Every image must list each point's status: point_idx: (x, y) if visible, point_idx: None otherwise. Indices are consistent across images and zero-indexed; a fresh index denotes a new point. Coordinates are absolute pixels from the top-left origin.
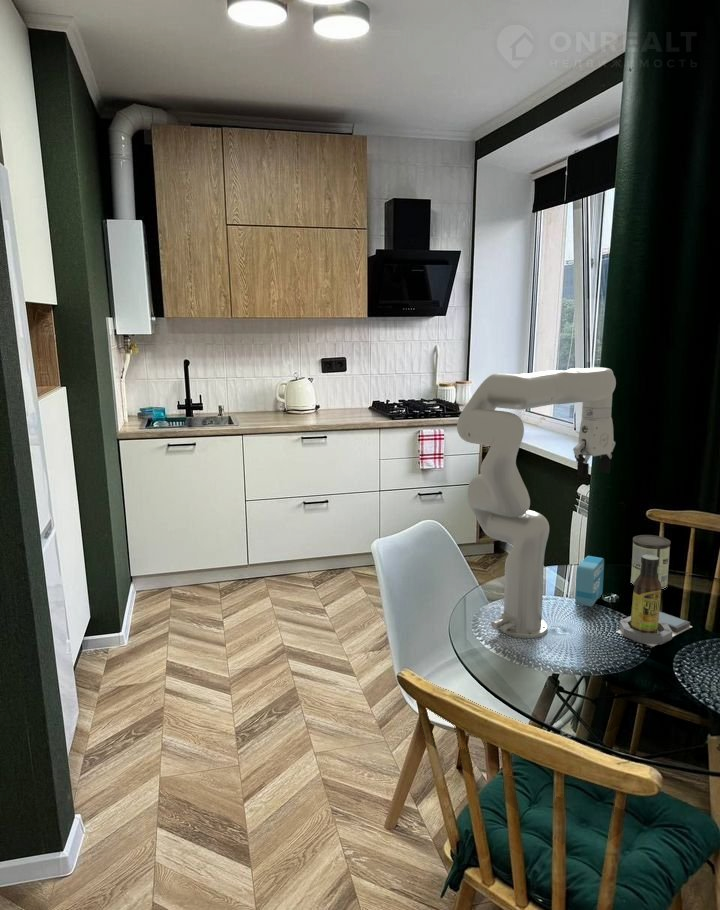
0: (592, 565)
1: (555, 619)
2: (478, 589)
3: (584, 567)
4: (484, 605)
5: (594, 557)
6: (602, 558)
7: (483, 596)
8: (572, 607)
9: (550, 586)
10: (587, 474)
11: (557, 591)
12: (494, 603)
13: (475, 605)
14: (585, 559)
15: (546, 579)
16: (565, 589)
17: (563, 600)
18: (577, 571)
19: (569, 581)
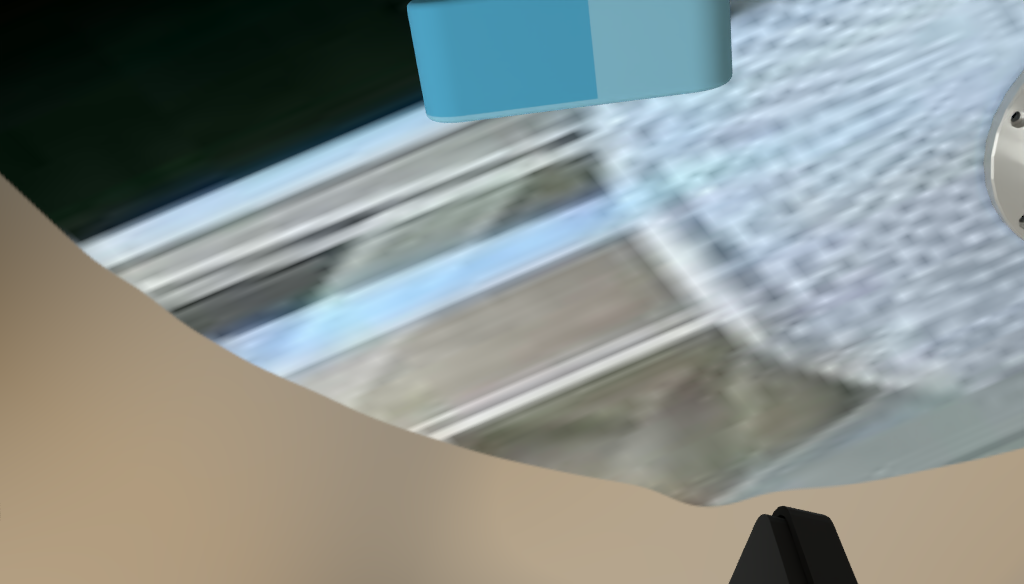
0: (649, 2)
1: (916, 50)
2: (757, 490)
3: (711, 38)
4: (928, 391)
5: (464, 63)
6: (446, 5)
7: (825, 440)
8: None
9: (500, 257)
10: (833, 557)
11: (542, 201)
12: (879, 368)
13: (950, 420)
14: (551, 98)
15: (424, 311)
16: (487, 180)
17: (641, 125)
18: (731, 73)
19: (365, 210)
